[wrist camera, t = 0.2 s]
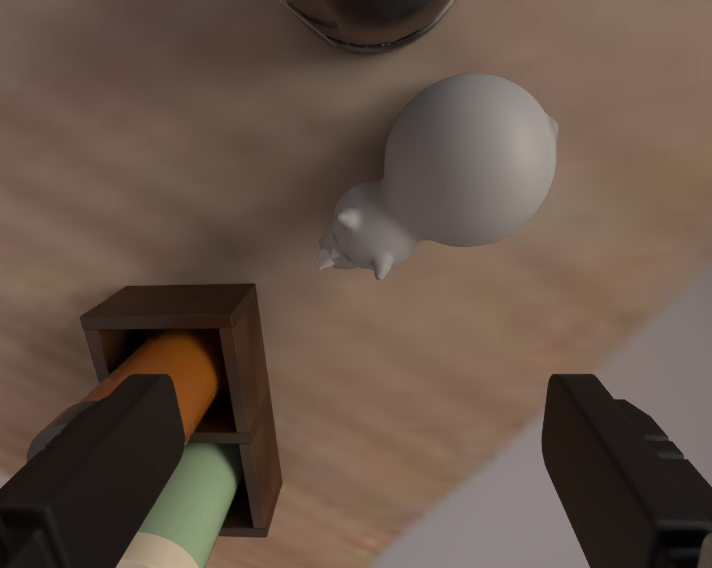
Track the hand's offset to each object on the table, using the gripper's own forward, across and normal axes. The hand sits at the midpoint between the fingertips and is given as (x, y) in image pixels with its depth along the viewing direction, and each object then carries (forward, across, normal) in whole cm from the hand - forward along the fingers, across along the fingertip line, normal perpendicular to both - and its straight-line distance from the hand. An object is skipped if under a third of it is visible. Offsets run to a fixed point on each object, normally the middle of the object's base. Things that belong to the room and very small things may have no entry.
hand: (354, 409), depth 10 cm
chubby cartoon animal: (+18, -2, -2) cm, 18 cm away
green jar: (+17, +12, +15) cm, 26 cm away
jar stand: (+17, +12, +12) cm, 24 cm away
